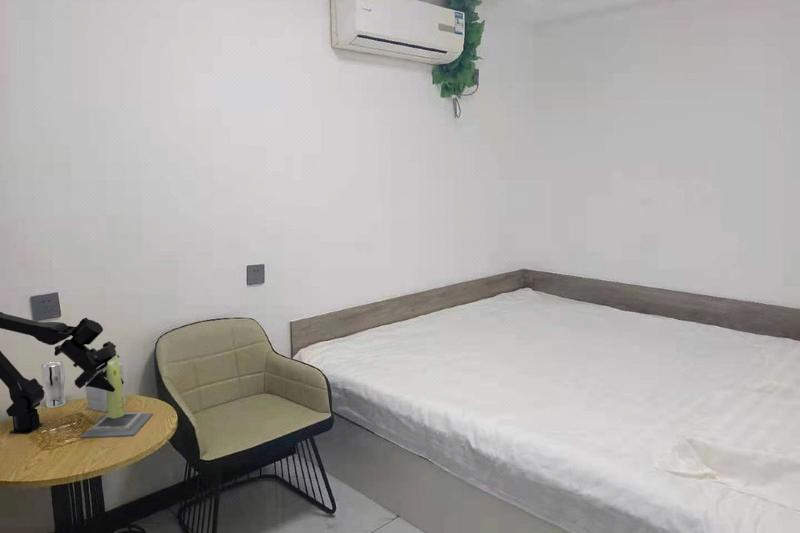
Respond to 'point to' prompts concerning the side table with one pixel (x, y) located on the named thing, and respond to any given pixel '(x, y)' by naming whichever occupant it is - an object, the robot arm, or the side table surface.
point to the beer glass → (54, 383)
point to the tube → (115, 398)
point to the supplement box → (100, 395)
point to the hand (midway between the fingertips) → (118, 387)
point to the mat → (118, 423)
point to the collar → (103, 429)
